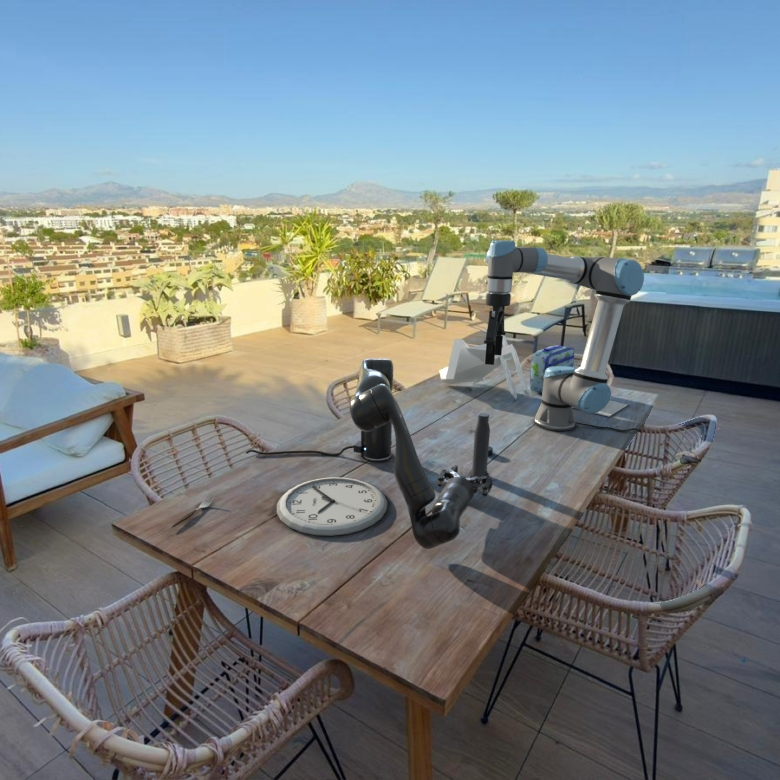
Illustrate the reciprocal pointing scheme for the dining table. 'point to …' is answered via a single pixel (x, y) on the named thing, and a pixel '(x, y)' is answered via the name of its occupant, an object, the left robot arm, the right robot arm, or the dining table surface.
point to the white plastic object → (480, 365)
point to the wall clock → (331, 506)
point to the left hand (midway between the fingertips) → (471, 471)
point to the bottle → (481, 445)
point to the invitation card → (611, 408)
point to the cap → (490, 451)
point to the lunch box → (548, 363)
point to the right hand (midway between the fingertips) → (493, 359)
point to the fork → (203, 505)
